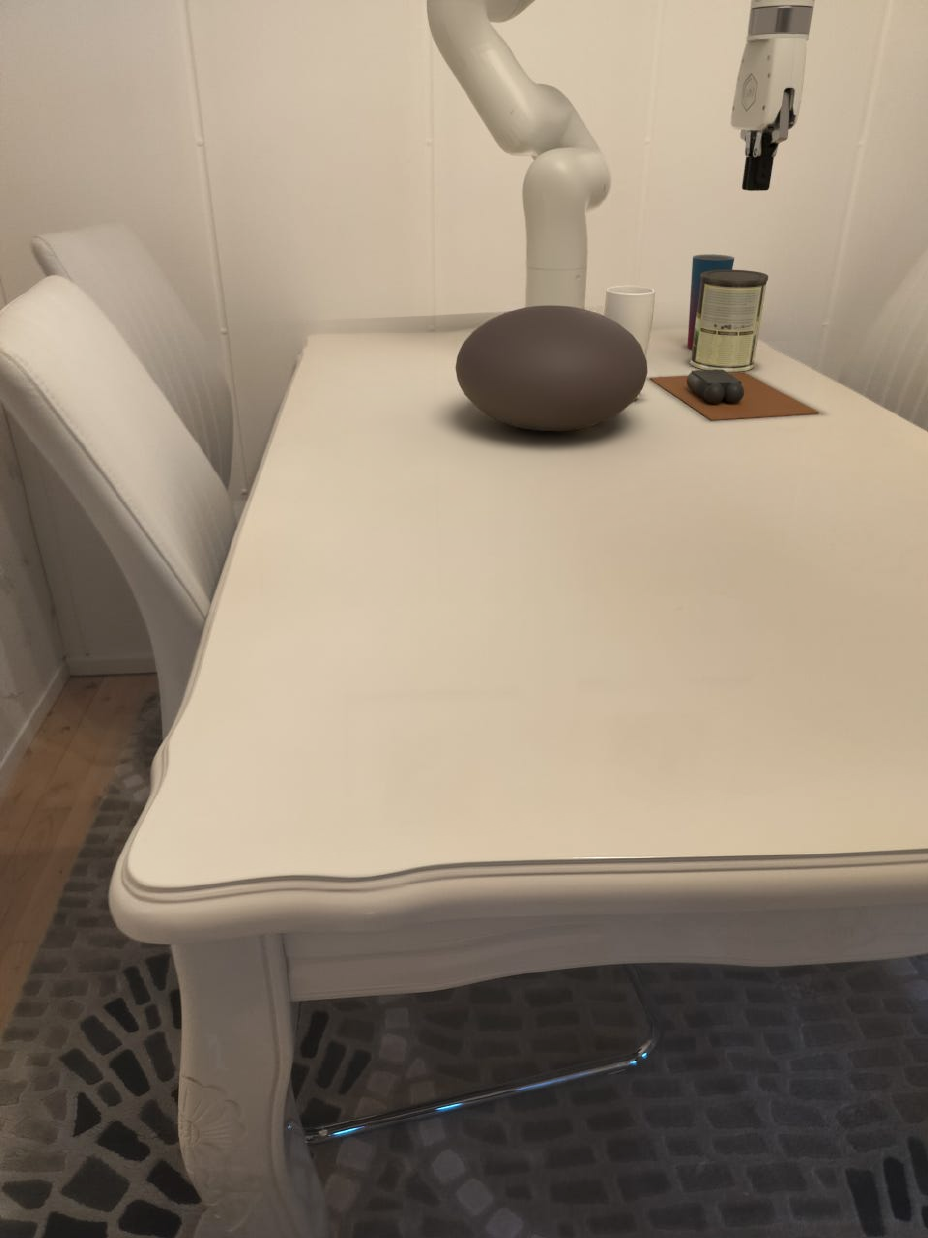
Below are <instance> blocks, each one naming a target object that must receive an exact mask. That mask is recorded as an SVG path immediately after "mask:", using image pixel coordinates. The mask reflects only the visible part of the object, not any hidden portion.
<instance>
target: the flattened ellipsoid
mask: <svg viewBox="0 0 928 1238" xmlns="http://www.w3.org/2000/svg"><path fill="white" fill-rule="evenodd" d="M455 375H456V379H457V382H458V385H459V386H460V388H461V390H462V392H463V395H464V396H465V397H466V398H467V399H468V400H469V401H470V403H472V405H474V406H475V407H476V408H477V409H478V410H479V411H481V412H483V413H484V414H485V415H487V416H489V417H491V418H493V419H494V420H496V421H499V422H501V423H503V424H507V425H509V426H513V427H516V428H520V429H526V430H532V431H543V432H563V431H564V432H565V431H573V430H574V431H575V430H579V429H580V430H581V429H584V428H589V427H591V426H594V425H598V424H601V423H603V422H605V421H608V420H610V419H612V418H613V417H615V416H617V415H618V414H620V413H622V412H624V410H626V409H627V408H628V407H629V406H630V405H631V404H632V403H634V402H635V401H636V400H637V399H638V398H637V396H638V395H639V393H640V394H641V392H642V390H643V388H644V387H645V383H646V381H647V380H646V379H647V376H648V360H647V357H646V358H645V355H644V352H643V350H642V347H641V345H640V344H639V342H638V341H637V340H636V339H635V337H634V336H633V335H632V334H631V333H630V332H628V331H627V330H626V329H625V328H624V327H622V326H621V325H620V324H619V323H617V322H615V321H613V320H611V319H609V318H607V317H605V316H604V314H601V313H598V312H595V311H592V310H589V309H585V308H584V309H582V308H577V307H569V306H555V305H549V306H532V307H525V308H524V307H522V308H518V309H513V310H510V311H506V312H503V313H501V314H499V315H497V316H495V317H492V318H490V319H488V320H487V321H485V322H484V323H483V324H481V325H480V326H478V327H476V329H474V330H473V331H472V332H471V333H470V334H469V335H468V337H467V338H466V339H464V341H463V343H462V345H461V347H460V349H459V351H458V354H457V355H456V362H455ZM636 398H637V399H636ZM635 399H636V400H635Z"/></svg>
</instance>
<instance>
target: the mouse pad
mask: <svg viewBox="0 0 928 1238" xmlns="http://www.w3.org/2000/svg"><path fill="white" fill-rule="evenodd" d="M728 373H729V374H730V375H732V376H733V377H735V378H736V379H738V380H739V381H741V385H742V386H743V388H744V396H743V398H742V399H741V400H740V401H739V402H737V403H734V404H731V403H728V402H726V401H725V400H722V401H721V402H720V403H718V404H709V403H708V402H706V401H705V400H704V399H702V398H701V397H700V396H699V395H697V394H696V393H695V392H694V391H692V390H691V389H690V388H689V387H688V385H687V377H688V375H677V376H675V375H674V376H657V377H649V380H650V381H652V382H653V383H655V384H656V385H658V386H659V387H661V388H662V389H663V390H665V391H667V392H668V393H669V394H671V395H672V396H674V397H675V398H677V399H678V400H680V401H681V402H683V403H684V404H686V405H687V406H688V407H690V408H691V409H693V410H695V411H696V412H697V413H699V414H700V415H702V416H703V417H705V418H706V419H707V420H709V421H724V420H725V421H726V420H740V419H755V418H756V419H757V418H771V417H786V416H787V417H788V416H801V415H802V416H803V415H815V414H819V411H818V410H816V409H814V408H812V407H810V406H809V405H806V404H804V403H803V402H801V401H799V400H797V399H796V398H793V397H791V396H790V395H788V394H786V393H784V392H782V391H780V390H778V389H776V388H774V387H773V386H771V385H769V384H767V383H765V382H763V381H762V380H759V379H757V378H755V377H754V376H751V375H750V374H748V373H746V372H728Z"/></svg>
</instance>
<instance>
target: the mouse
mask: <svg viewBox="0 0 928 1238" xmlns="http://www.w3.org/2000/svg"><path fill="white" fill-rule="evenodd" d="M729 373H730V372H726V371H724V370H717V369H715V370H703V369H695V370H691V372H689V373H688V375H687V376H688V377H687V385H688V387H689V388H690V389H691V390H692V391H694V392H695V393H696V394H697V395H699V396H700V397H701V398H702V399H704V400H705V401H706V402H708V403H709V404H718V403H720V402H721V401H722V400H725V401H726V402H728V403H731V404H734V403H737V402H739V401H740V400H741V399H742V398H743V396H744V388H743V386H742V385H741V381H739V380H738V379H736V378H735V377H733V376H732V375H730V374H729Z"/></svg>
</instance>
